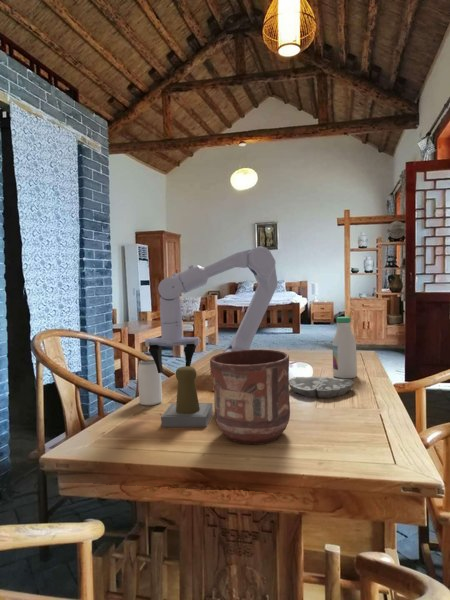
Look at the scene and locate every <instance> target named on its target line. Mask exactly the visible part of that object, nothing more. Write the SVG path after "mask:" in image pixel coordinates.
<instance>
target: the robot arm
mask: <svg viewBox="0 0 450 600" xmlns="http://www.w3.org/2000/svg"><path fill="white" fill-rule="evenodd" d="M234 268H239V269H240V268H242V269H246V268H248V269H249V270H250V271H251V273H252V274H253V275H254V279H255V280H256V283H257V286H256V289H255V291H254V293H253V295H252V298H251V301H250V302H249V303H248V307H247V308H246V312H245V313H244V315H243V317H242V320H241V322H240V324H239V327H238V329H237V330H236V333H235V336H234V337H233V338H232V340H231V341H230V344H229V345H228V347H227V348H225V349H224V350H223V351H222V353H225V352H230V351H238V350H251V344H252V342H253V340H254V337H255V335H256V334H257V332H258V329H259V327H260V324H261V323H262V321H263V318H264V316H265V314H266V312H267V309H268V308H269V305H270V303H271V300H272V298H273V296H274V294H275V292H276V290H277V288H278V277H277V270H276V269H277V268H276V259H275V258H274V256H273V254H272V252H271V250H269V249H268V247H266V246H257V247H255V248H252V249H247V250H243V251H238V252H235V253H233V254H231V255H229V256H227V257H225V258H222V259H220V260H218V261H215V262H214V263H212V264H209V265H207V266H205V267H203V266H201V265H199V264H197V265H194V264H191V265H189V266H188V268H187V269H185V270H183V271H180V272H177V273H176V272H174V273H172V274H171V276H172V277H171V276H168V277H167V276H166V277H165V278H163V279H162V280H161V281H160V282H159V283H158V286H157V289H158V294H159V296H160V297H159V303H160V305H159V316H160V332H161V337H156V338H155V337H154V338H152V337H151V338H145V340H144V341H145V348H146V347H147V348H148V351H149V354H150V356H151V357H152V360H154V361H155V364H156V367H157V370H158V373H161V374H162V373H163V358H162V351H163V347H165V346H166V347H168V346H169V347H172V346H184V347H183V353H184V357H185V366H190V367H191V365H192V359H193V357H194V353H195V351H196V348H197V346H200V344H201V343H200V337H199V336H198V337H196V336H191V337H189V336H184V333H183V315H182V314H183V313H182V304H181V296H180V295H181V294H188V293H190V292H192V291H193V290H197V289H199V288H200V287H204V286H206V285H207V283H208V280H209V279H210V278H211V277H214V276H216V275H219V274H222V273H224V272H227V271H229V270H232V269H234Z"/></svg>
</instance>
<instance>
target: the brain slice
mask: <svg viewBox="0 0 450 600" xmlns="http://www.w3.org/2000/svg"><path fill="white" fill-rule="evenodd" d="M353 386H355V381H354V380H352V379H349V378H348V379H344V378H337V377H330V376H296V377H295V376H294V377H291V378H290V379H289V389H291V391H292V392H293V393H295V394H299V395H302V396H305V397H308V398H319V399H327V398H334V397H342V396H344V395H346V394H347V393H348V392H349V391H350V390H351V389H352V388H353Z"/></svg>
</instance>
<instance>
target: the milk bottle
mask: <svg viewBox="0 0 450 600" xmlns="http://www.w3.org/2000/svg"><path fill="white" fill-rule="evenodd" d="M351 320H352V319H351V317H350V316H337V317H336V321H335V322H336V326H337V327H336V331H335V333H334V335H333V338H332V372H333V373H332V374H333V378H336V379H348V380H349V379H354V378H357V375H358V365H357V364H358V362H357V361H358V360H357V359H358V358H357V355H358V354H357V341H356V338H355V335H354V333H353V331H352V327H351Z"/></svg>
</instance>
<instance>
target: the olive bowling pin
mask: <svg viewBox="0 0 450 600" xmlns="http://www.w3.org/2000/svg"><path fill="white" fill-rule="evenodd" d="M196 377H197V370H196V368H195V367H194V366H191V365H190V366H186V365H185V366H180V367H178V368H177V369H176V370H175V378H176V380H177V390H176V391H177V393H176V412H177V413H180V414H192V413H196V412H198V411H199V410H200V407H199V403H200V402H199V399H198V398H199V397H198V393H197V392H198V391H197V387H196V385H197V384H196V381H195V380H196Z"/></svg>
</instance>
